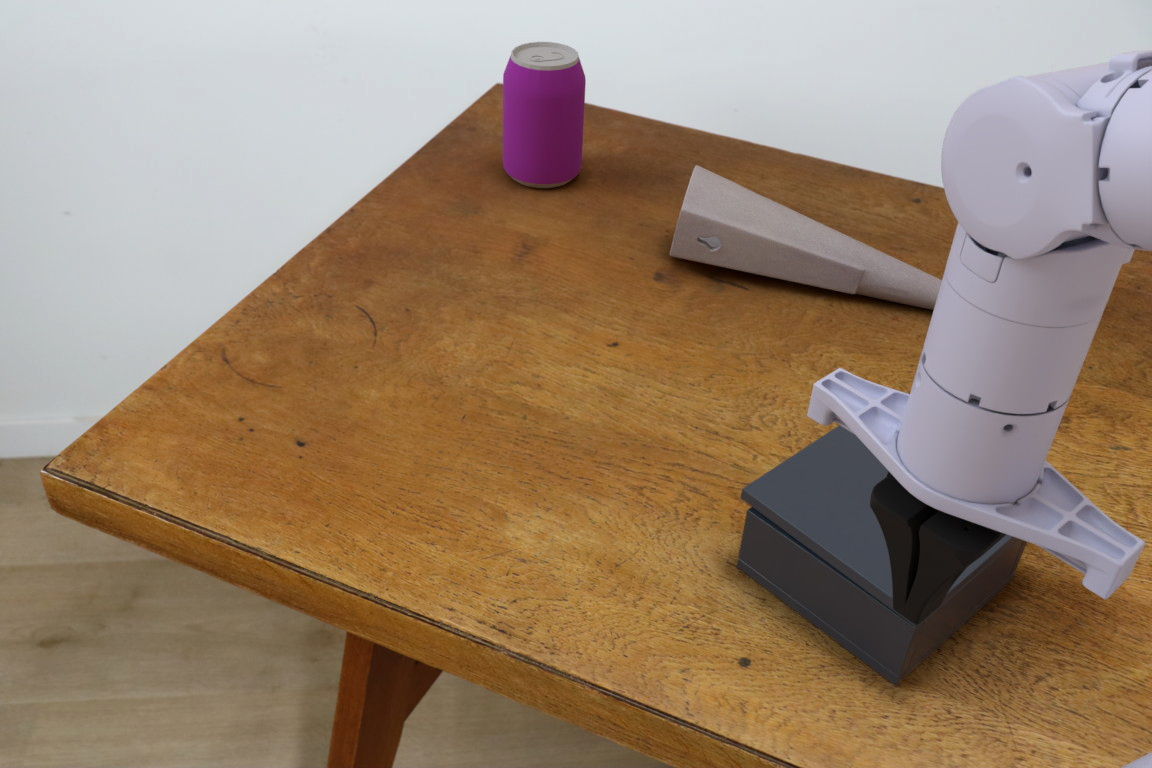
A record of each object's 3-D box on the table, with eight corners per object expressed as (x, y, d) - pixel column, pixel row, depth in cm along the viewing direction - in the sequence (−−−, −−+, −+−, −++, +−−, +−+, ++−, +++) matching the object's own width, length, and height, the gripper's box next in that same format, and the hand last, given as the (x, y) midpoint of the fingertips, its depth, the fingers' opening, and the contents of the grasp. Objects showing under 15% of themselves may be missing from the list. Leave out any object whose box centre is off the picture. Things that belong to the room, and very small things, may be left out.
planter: (996, 227, 94) (701, 149, 96) (1003, 276, 87) (684, 191, 89) (962, 303, 99) (681, 227, 101) (966, 355, 92) (664, 272, 94)
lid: (739, 498, 64) (742, 488, 64) (864, 416, 71) (867, 406, 71) (915, 627, 58) (919, 618, 57) (1034, 523, 64) (1039, 513, 64)
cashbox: (736, 567, 67) (746, 509, 64) (855, 482, 74) (870, 426, 71) (895, 687, 61) (915, 628, 58) (1011, 581, 67) (1034, 524, 64)
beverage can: (524, 198, 104) (526, 74, 97) (489, 164, 109) (488, 45, 102) (595, 182, 107) (602, 62, 100) (558, 151, 112) (562, 34, 105)
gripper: (1225, 420, 41) (1105, 657, 49) (899, 262, 50) (842, 487, 58) (1138, 503, 37) (1023, 745, 46) (800, 316, 46) (754, 549, 54)
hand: (916, 606), depth 51 cm, fingers closed
